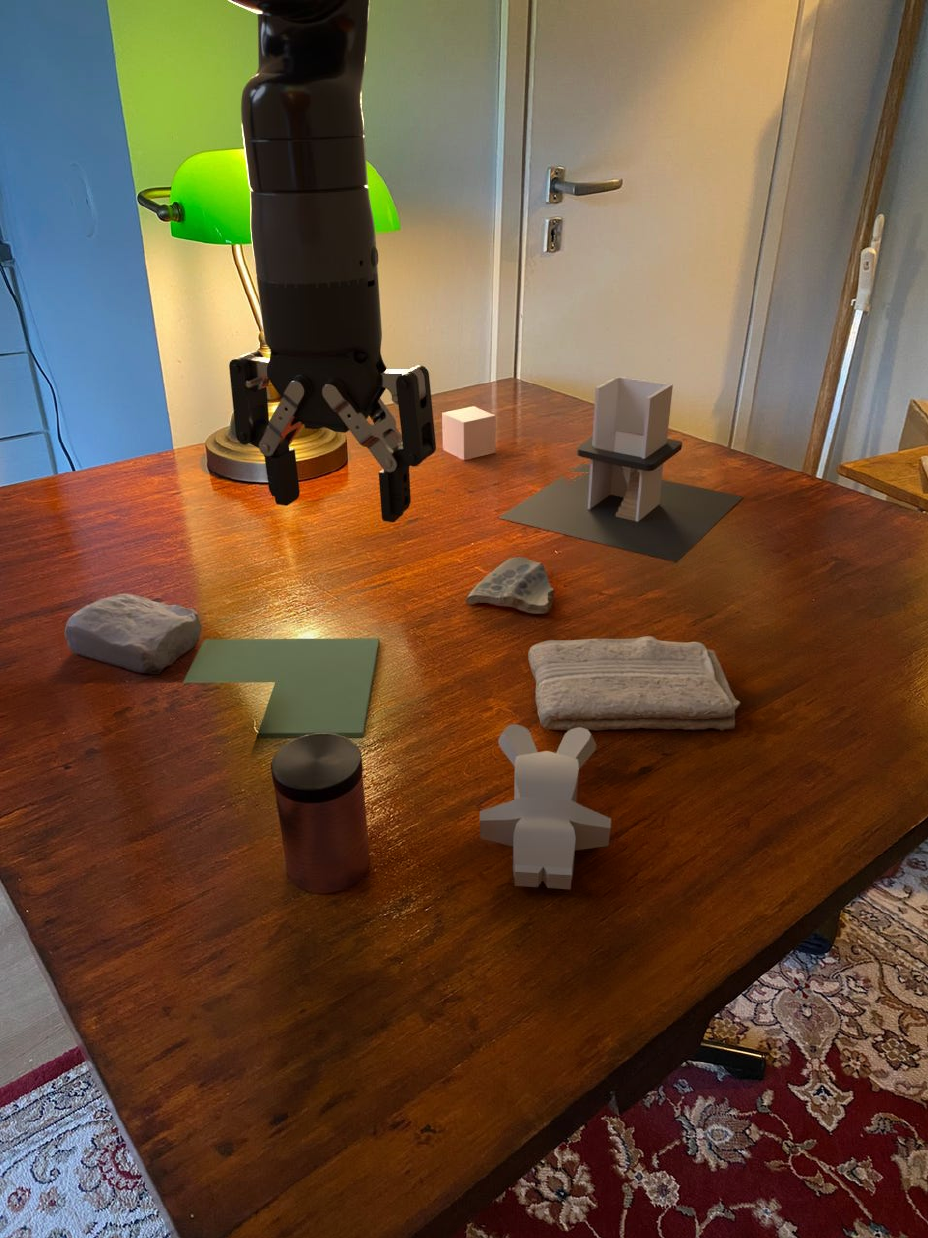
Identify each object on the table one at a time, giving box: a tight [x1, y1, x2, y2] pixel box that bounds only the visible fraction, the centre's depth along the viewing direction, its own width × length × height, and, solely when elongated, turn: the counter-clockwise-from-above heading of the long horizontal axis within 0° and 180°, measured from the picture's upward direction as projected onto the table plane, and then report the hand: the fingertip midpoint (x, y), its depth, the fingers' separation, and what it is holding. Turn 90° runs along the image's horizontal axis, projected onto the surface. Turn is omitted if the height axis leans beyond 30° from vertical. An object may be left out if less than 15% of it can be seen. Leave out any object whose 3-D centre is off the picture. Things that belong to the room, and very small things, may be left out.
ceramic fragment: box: [465, 556, 555, 615], centre depth 101 cm, size 11×3×10 cm
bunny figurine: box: [479, 723, 612, 890], centre depth 68 cm, size 10×5×15 cm
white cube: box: [441, 405, 497, 461], centre depth 142 cm, size 6×6×6 cm
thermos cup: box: [270, 733, 371, 895], centre depth 64 cm, size 6×6×10 cm
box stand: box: [497, 375, 744, 563], centre depth 119 cm, size 25×24×16 cm
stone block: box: [64, 593, 203, 676], centre depth 92 cm, size 12×5×10 cm
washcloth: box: [527, 635, 741, 732], centre depth 83 cm, size 12×18×3 cm, turn 91°
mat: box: [182, 637, 381, 739], centre depth 86 cm, size 18×16×1 cm
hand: (340, 509), depth 64 cm, fingers open, 8 cm apart
